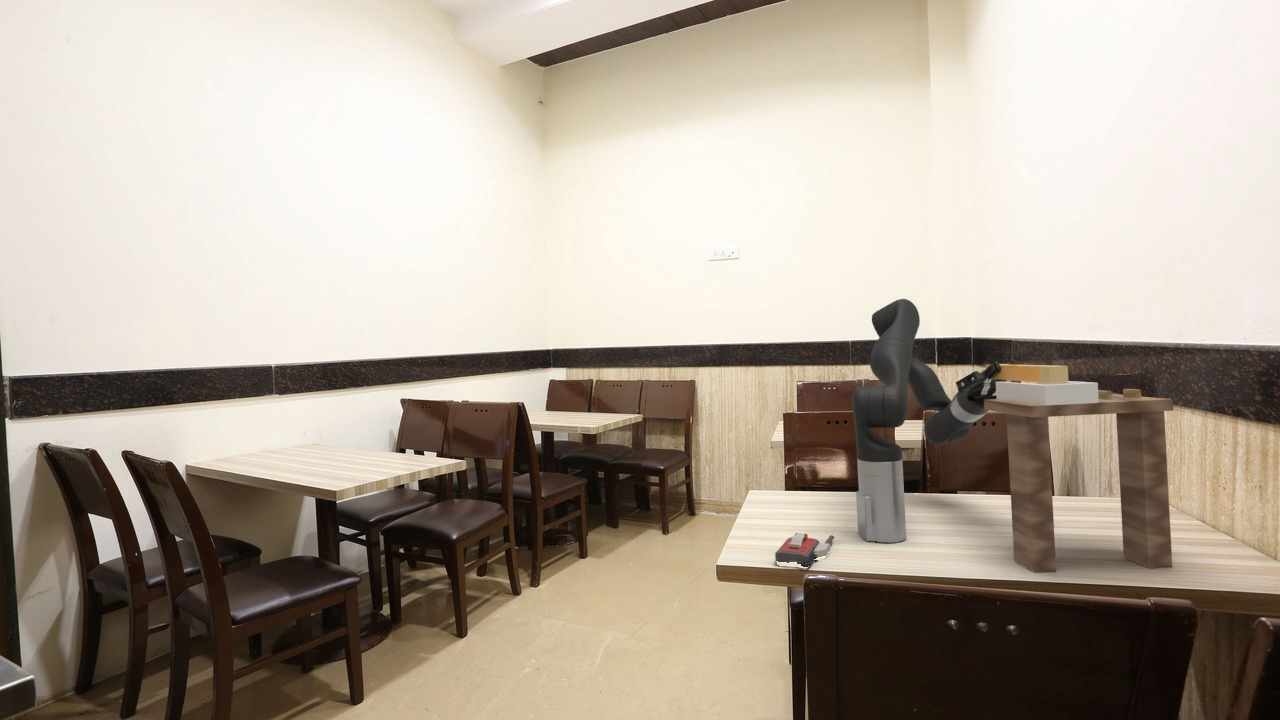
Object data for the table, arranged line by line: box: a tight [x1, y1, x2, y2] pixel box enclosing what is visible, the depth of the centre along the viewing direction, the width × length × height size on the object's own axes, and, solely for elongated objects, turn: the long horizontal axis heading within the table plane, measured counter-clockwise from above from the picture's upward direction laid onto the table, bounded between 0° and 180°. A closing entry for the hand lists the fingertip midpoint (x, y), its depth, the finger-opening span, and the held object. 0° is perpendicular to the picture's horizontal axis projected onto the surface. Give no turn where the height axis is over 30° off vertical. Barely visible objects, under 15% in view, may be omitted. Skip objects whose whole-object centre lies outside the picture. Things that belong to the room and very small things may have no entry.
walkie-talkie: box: [774, 532, 835, 567], centre depth 126 cm, size 9×4×20 cm
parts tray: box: [996, 380, 1099, 405], centre depth 115 cm, size 9×16×4 cm, turn 177°
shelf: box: [984, 388, 1174, 573], centre depth 114 cm, size 24×16×32 cm, turn 88°
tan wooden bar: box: [984, 363, 1069, 383], centre depth 121 cm, size 3×22×3 cm, turn 178°
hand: (1007, 365), depth 126 cm, fingers closed on tan wooden bar, 3 cm apart
